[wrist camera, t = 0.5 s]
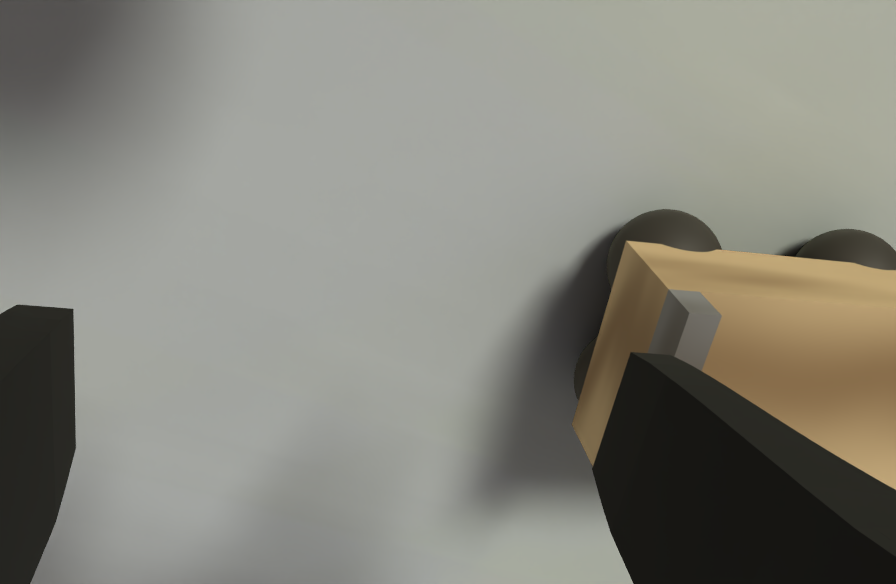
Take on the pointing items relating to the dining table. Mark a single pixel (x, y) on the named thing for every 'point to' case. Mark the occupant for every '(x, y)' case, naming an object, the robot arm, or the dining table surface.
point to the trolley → (756, 331)
